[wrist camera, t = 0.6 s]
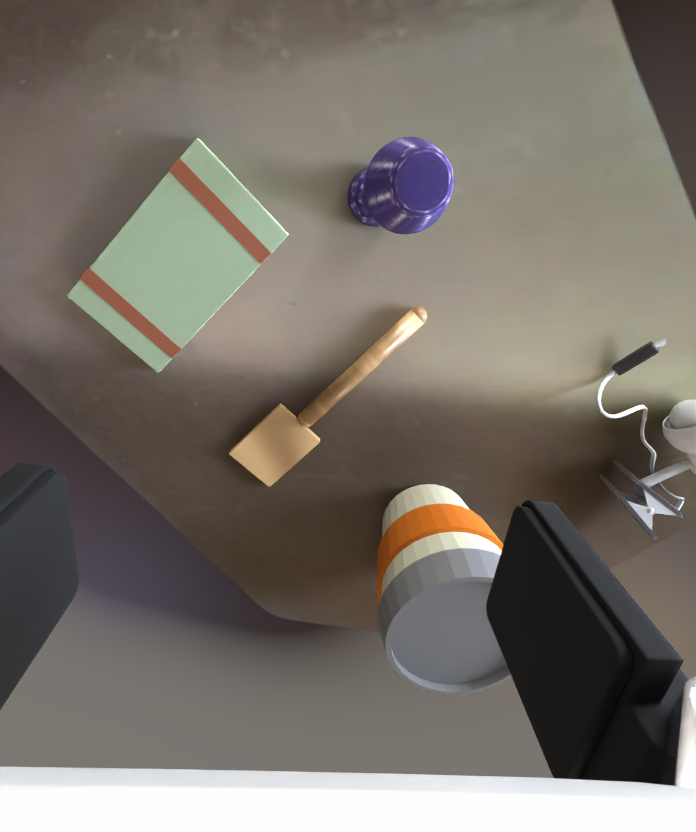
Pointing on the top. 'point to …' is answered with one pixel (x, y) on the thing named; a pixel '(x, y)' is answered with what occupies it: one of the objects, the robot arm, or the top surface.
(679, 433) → the clip-on lamp
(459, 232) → the top surface
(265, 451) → the wooden spatula
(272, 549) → the top surface
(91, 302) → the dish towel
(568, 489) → the top surface
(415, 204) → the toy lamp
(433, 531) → the reusable coffee cup
